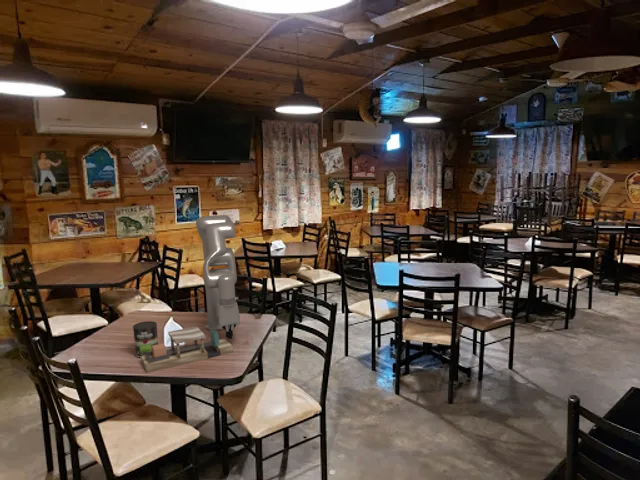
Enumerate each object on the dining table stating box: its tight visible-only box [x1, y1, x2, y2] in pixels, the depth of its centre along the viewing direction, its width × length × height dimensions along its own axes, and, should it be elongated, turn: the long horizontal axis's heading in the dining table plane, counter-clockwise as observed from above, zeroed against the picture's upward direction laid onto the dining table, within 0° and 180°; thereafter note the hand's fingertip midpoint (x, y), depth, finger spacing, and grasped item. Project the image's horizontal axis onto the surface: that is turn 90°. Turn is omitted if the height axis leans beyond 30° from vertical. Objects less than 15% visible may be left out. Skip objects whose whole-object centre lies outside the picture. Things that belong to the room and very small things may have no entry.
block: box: [152, 342, 167, 358], centre depth 198 cm, size 5×5×5 cm
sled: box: [145, 330, 220, 363], centre depth 203 cm, size 9×31×6 cm, turn 121°
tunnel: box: [140, 325, 234, 374], centre depth 204 cm, size 14×38×11 cm, turn 121°
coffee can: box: [132, 320, 159, 359], centre depth 209 cm, size 10×10×14 cm
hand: (229, 338), depth 214 cm, fingers closed
